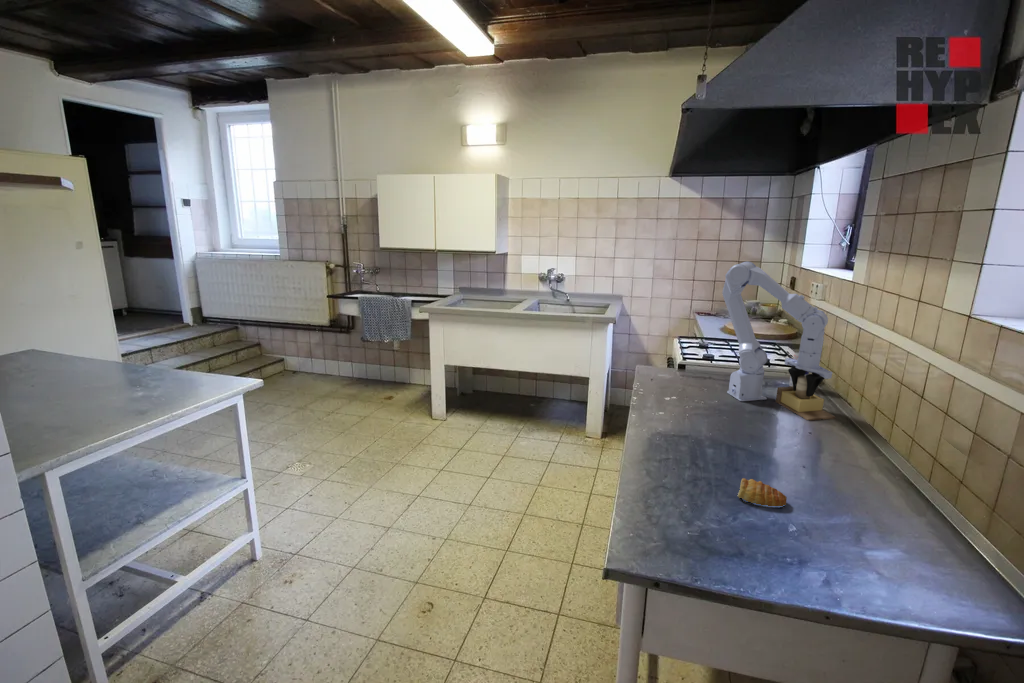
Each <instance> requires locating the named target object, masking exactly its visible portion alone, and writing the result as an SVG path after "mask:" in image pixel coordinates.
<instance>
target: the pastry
mask: <svg viewBox="0 0 1024 683" xmlns="http://www.w3.org/2000/svg"><path fill="white" fill-rule="evenodd" d="M739 486H740V487H739V489H740V490H738V493H737V494H738V495H737V494H736V495H737V497H738V498H739V499H740V498H742V499H744V500H746V501H748V502H751V503H756V504H761V505H768V506H783V505H786V506H787V499H788V498H787V496H786V495H785V494H784V493H783V492H781V491H779V490H778V489H777V488H775V487H771V485H769V484H766V483H763V481H761V480H760V481H757V480H755V479H753V478H750V479H746V477H745V478H744V477H743V478H741V481H740V484H739ZM751 503H750V504H751Z"/></svg>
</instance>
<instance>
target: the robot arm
mask: <svg viewBox="0 0 1024 683" xmlns="http://www.w3.org/2000/svg"><path fill="white" fill-rule="evenodd" d="M724 276H725V281H724V284H723V288H722V292H721V294H722V298H723V300H724V303H725V306H726V308H727V309H726V310H727V312H728V315H729V318H730V321H731V323H732V326H733V330H734V334H735V336H736V339H737V342H738V355H739V361H738V365H739V369H738V370H736V371H732V373H731V374H730V377H729V384H728V390H727V391H726V393H727V394H728V395H730V396H731V397H734V399H736V400H737V401H739V402H749V401H750V402H751V401H763V400H764V401H765V400H767V399H768V398H767V397H766V396H764V395H763V394H762V391H763V383H764V377H765V369H764V365H765V364H766V363H767V361H768V354H767V352H766V351H765V350H764V349H763V348H762V345H761V343H760V342H759V340H757V339H756V335H755V333H754V329H753V326H752V323H751V320H750V317H749V314H748V312H747V308H746V305H745V302H744V301H743V296H742V292H743V291H744V290H745V288H746V286H747V285H749V286H756V287H757V286H759V287H761V288H762V289H763V290H765V291H766V292H767V293H769V295H771V296H772V297H774V298H775V299H777V300H778V301H780V302H781V309H782V310H784V311H785V312H786V313H788V315H790V316H791V317H792V318H794V319H795V320H796V321H797V322H799V323H801V327H802V334H801V338H800V343H799V349H798V352H799V355H798V360H796V359H793V357H792V358H791V357H786V358H785V359H784V365H786V366H791V367H790V368H788V370H787V371H788V373H789V375H790V376H791V378H792V383H793V390H794V391H796V386H797V380H798V376H804V375H805V373H806V371H807V372H809V375H806V378H807V391H806V396H808V397H810V396H813V395H815V392H816V391H817V389H818V387H819V385H820V384H821V383H822V382H823V381H824V380H825V379H826V380H828V379H832V377H833V376H832V375H833V371H830V370H829V369H826V368H824V367H822V366H821V365H820V362H821V356H822V350H823V346H824V345H823V344H824V340H825V337H824V335H825V331H826V329H825V328H826V326H827V325H828V322H829V318H828V315H827V314H826V313H825V311H823V310H821V309H819V308H818V307H817V306H813V305H812V304H810V303H809V302H808V301H807V300H805V296H804V295H803V294H801V295H799V294H798V293H790V292H788V291H787V290H786V289H785V288H784V287H782V285H781V284H779V283H778V282H777V281H776V280H775V279H774V278H772V277H771V276H770V275H769V274H768V273H767V272H766V271H764V269H762V268H761V267H759V266H757V265H756V264H755V263H753V261H743V262H741V263H738V264H734V265H733V266H731V267H729V269H728V270H727V272H726V273H725V275H724ZM790 376H789V377H790Z"/></svg>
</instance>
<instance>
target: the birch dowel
mask: <svg viewBox="0 0 1024 683" xmlns="http://www.w3.org/2000/svg"><path fill="white" fill-rule="evenodd" d="M806 391H807V378H806V376H798V380H797V386H796V393H795V396H796V397H797V398H799V399H810V397H808V396H806Z"/></svg>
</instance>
